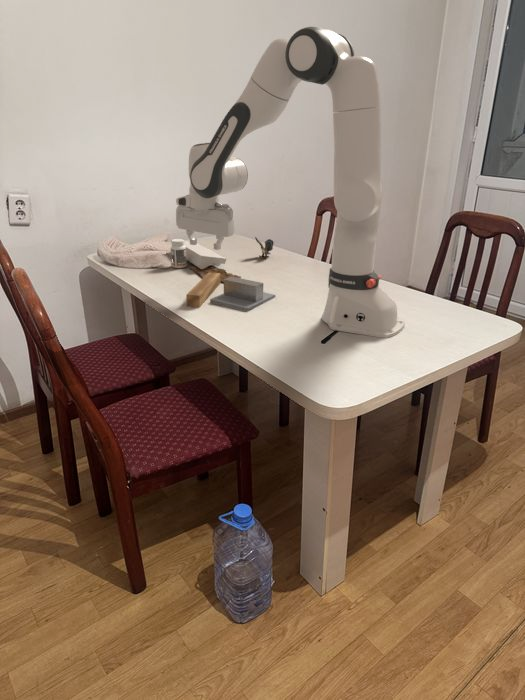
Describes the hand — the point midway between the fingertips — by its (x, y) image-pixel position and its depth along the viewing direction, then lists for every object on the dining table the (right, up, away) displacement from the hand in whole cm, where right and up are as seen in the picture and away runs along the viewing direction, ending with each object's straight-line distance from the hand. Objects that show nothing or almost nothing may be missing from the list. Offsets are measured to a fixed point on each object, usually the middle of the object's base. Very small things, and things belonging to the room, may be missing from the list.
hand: (205, 247), depth 158 cm
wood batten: (-1, -14, +4) cm, 15 cm away
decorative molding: (-3, +5, +44) cm, 44 cm away
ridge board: (+12, -17, -1) cm, 21 cm away
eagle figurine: (+18, +4, +45) cm, 49 cm away
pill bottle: (-13, -1, +34) cm, 36 cm away
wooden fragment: (+4, -6, +26) cm, 27 cm away
